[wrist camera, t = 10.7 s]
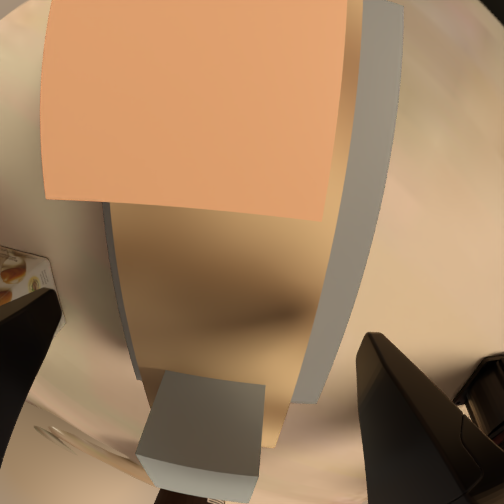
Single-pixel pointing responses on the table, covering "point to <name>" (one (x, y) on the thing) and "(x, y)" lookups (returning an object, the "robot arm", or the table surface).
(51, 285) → the coffee box
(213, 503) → the coffee mug
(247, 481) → the grey cube
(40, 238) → the table surface
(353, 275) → the dock
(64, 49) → the orange cube
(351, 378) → the table surface
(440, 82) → the table surface
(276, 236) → the wooden block
